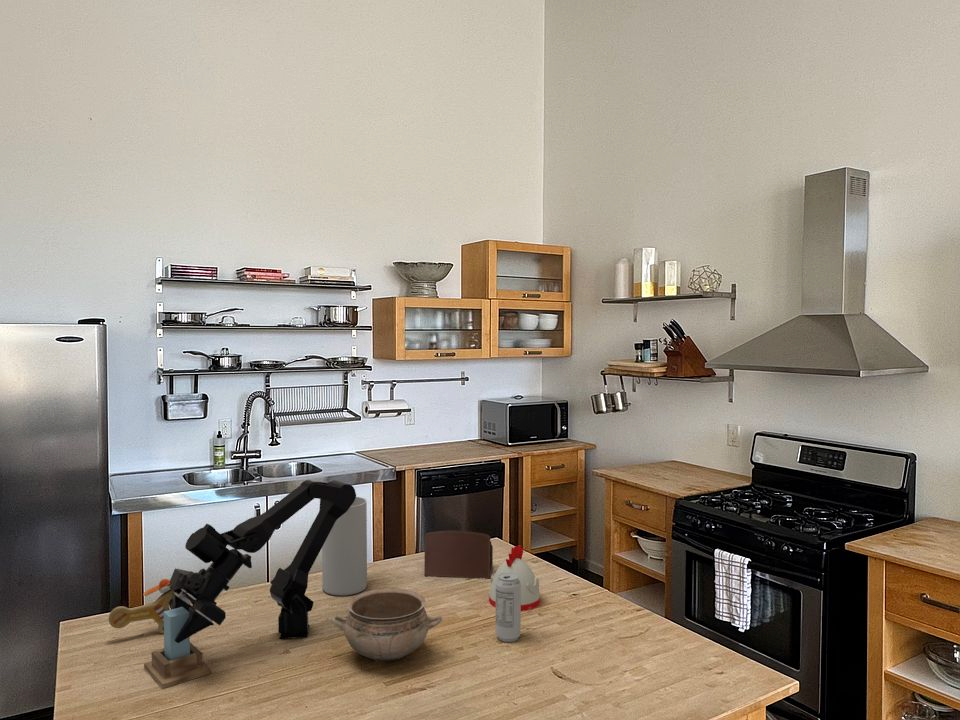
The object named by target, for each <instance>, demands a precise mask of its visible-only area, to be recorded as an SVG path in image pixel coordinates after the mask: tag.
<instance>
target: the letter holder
mask: <svg viewBox="0 0 960 720" xmlns="http://www.w3.org/2000/svg"><path fill="white" fill-rule="evenodd" d="M493 551H494V548H493V544H492V541H491V536H490V535H489V534H487V533H481V532H476V531H469V530H439V531H431V532H430V531H429V532H427V533H425V535H424V567H423V568H424V569H423V571H424V573H423V575H424V577H428V576H436V577H435V578H458V579H459V578H462V579H480V578H482V579H483V578H485V579H483V580H486V579H487V580H491V576H492V571H493V568H494V567H493V564H494V562H493V561H494V560H493V558H494V557H493V553H494V552H493Z"/></svg>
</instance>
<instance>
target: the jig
mask: <svg viewBox="0 0 960 720" xmlns="http://www.w3.org/2000/svg"><path fill="white" fill-rule="evenodd" d="M203 655H204V654H203V652H202V651H201V650H200V649H198V647H196V646H195V645H194V644H193V643H192V642H191V641H190V655H186V656H183V657H180V658H177V659H173V660H170V661H168V660H167V659H166V658H165V655H164V647H163V648H161V649H157V650H154V651H153V650H152V651H151V661H148V662H145V663H143V668H144V669H145V671H146V672H147V673H148V675H150V676H151V677H152V678H153V680H154V681H155V682H156V683H157V684H158V685H159V686H160V687H161V688H162V690H164V689H167V688H170V687H173V686H177V685H179V684H182V683H185V682H188V681H191V680H193V679H197V678H200V677H203V676H206V675H209V674H212V668H211V667H210V666H209V665H208V664H207V663H206V662H205V661H203V658H204V657H203Z"/></svg>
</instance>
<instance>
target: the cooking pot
mask: <svg viewBox="0 0 960 720" xmlns="http://www.w3.org/2000/svg"><path fill="white" fill-rule="evenodd" d="M425 606H426V599H425V597H424V596H423V595H422V594H420V593H418V592H416V591H413V590H410V589H409V590H408V589H405V588H404V589H403V588H379V589H372V590H369V591H365V592H362V593H361V592H360V593H358V594H357V595H354V597H352V598H351V599H350V600H349V601H348V604H347V608H348V610H349V611H348V613H347V616H346V617H342V616H339V615H334V616H333V617H332V618H331V623H332V624H333V625H335V627H337V628H338V629H340V630H342V631H343V632H344V634H345V638H346V641H347V643H348V644H349V646H350V647H351V648H352V649H353V651H354V652H357V653H358V654H359V655H361V656H364V657H366V658H368V659H371V660H374V661H376V662H379V663H391V662H395V661H398V660H399V659H401V658H403V657H406V656H408V655H410V654H412V653H414V652H415V651H416V650H418V648H420V646H421V645H422V644H423V642H425V639H426V637H427V635H428V632H429V630H431V629H433V628H435V627H437V626H438V625H440V624H441V622H442V620H443V618H442V616H440V615H438V616H433V617H431V616H428V613H427V611H426V609H425ZM338 621H339V622H338ZM340 622H341V623H340Z"/></svg>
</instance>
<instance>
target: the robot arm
mask: <svg viewBox="0 0 960 720" xmlns="http://www.w3.org/2000/svg"><path fill="white" fill-rule="evenodd" d="M356 497H357V492H356V489H355V487H354V486H353V485H351V484H349V483H346V482H342V481H339V480H331V481H329V482H322V481H313V480H311V479H306V480H303V481H302V482H301V483H300V485H298V486H297V487H296V488H295V489H293V490H292V491H290V492H289V493H287V495H286V496H285V497H283V498H281V499H280V500H278V502H276V503H275V504H274V505H272V506H271V507H270V508H268V509H267V510H265V511H264V512H263V513H261V514H260V515H256V516H253V517H250V518H248V519H245V520H244V521H243V522H240V523H239V524H238V525H236V526H235V527H234V528H233V529H231V530H228V531H224V532H222V533H220V532H218V531H217V530H216V529H215V527H213V526H212V524H209V523H206V524H205V525H204V526H203V527H200V528H199V529H198V528H197V530H195V532H192V533H191V534H190V535H189V537H188V539H186V542H185V546H184V547H185V549H186V550H187V551H188V552H190V553H191V554H193V556H195V557H196V558H197V559H199V560H201V561H202V562H203V563H205V564H208V563H210V564H209V566H208V567H207V568H206V569H205V568H200V569H199V571H198V572H194V571H192V570H191V571H189V570H184V569H180V568H174V570H173V572H172V575H171V577H170V579H169V580H170V582H169V583H170V584H172V585H171V587H170V589H171V590H173V591H174V592H176V593H175V594H174V593H171V595H172V599H173V605H172V608H170V610H172V609H176V608H180V607H183V608H184V609H186V610H187V611H188V612H189V618H188V619H187V621H186V622H185V624H184V625H183V627H182V628H181V630H180V632H179V633H178V635H177V636H176V638H175V642H177V643H180V642H181V641H183V640H185V639H187V638H188V637H192V636H193V635H195V634H196V633H197V634H198V632H201V631H202V630H204V629H206V628H208V627H210V626H214V625H215V624H217V625H218V626H221V624H222V623H223V622H224V621H225V620H226V611H225V610H223V608H221V607H219V606H218V605H217V604H218V603H217V602H216V600H217V598H218V597H219V596H220V595H221V594H222V592H223V590H224V591H226V592H227V591H228V590H229V589H230V586H229V585H228V584H229V583H230V581H232V579H233V578H234V576H235V575H236V574H237V572H238V571H239V570H240V569H241V568H242V566H245V567H246V568H248V569H252V567H253V565H252V556H251V555H250V554H254V553H257V552H259V551H260V550H261V549H262V548H263V547H264V546H265V545H266V544H267V543H268V542H269V540H270V539H271V537H272V536H273V534H274V532H275V531H276V529H278V528H279V527H280V526H281V525H283V524H284V523H285V522H287V521H289V519H290V518H291V517H292V516H294V515H295V514H296V513H298V512H299V511H301V509H303V508H304V507H305V506H307V505H308V504H309V503H311V502H312V501H313V500H315V499H318V500H319V510H318V513H317V515H316V517H315V519H314V520H313V522H312V524H311V526H310V528H309V530H308V532H307V533H306V535H305V537H304V539H303V541H302V543H301V544H300V546H299V549H298V550H297V552H296V554H295V556H294V558H293V559H292V561H291V563H290V564H289V565H288V566H287V567H286V568H284V569H283V568H281V567H279V568H278V569H277V570H276V574H275V576H274V577H273V578H272V580H271V581H270V582H269V583H270V584H271V585H270V588H269V593H270V597H271V599H272V600H274V601H275V602H276V604H277V605H278V606H279V607H281V609H280V612H279V614H278V619H277V621H278V623H277V626H278V627H277V630H278V635H279V639H281V640H284V639H285V640H286V639H299V638H300V639H301V638H307V637H308V636H309V631H310V624H309V612H311V611H312V609H313V607H314V601H313V600H312V599H311V598H309V597H308V596H307V595H305V594H306V592H307V589H308V583H309V574H310V572H311V569H312V567H313V565H314V563H315V562H316V560H317V557H318V556H319V554H320V552H321V551H322V547H323V545H324V543H325V541H326V539H327V537H328V535H329V533H330V532H331V530H332V528H333V526H334V524H335V522H336V520H337V519H338V518H340V517H341V516H342V515H343V514H345V513H346V512H347V511H348V509H349V508H350V507H351V505H352V504H353V502H354V501H355V498H356ZM228 546H229V547H230V548H232V549H229V548H227V547H228ZM240 550H241V551H244V552H246V553H245V554H243V553H242V552H240ZM248 553H249V554H248ZM211 562H212V563H211ZM190 604H191V605H192V606H193V605H194V604H195V607H194V608H193V607H192V606H191V605H190ZM195 608H196V609H197V610H196V611H195V610H194V609H195ZM213 622H214V623H213ZM162 629H163V630H164V626H163V628H162Z"/></svg>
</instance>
